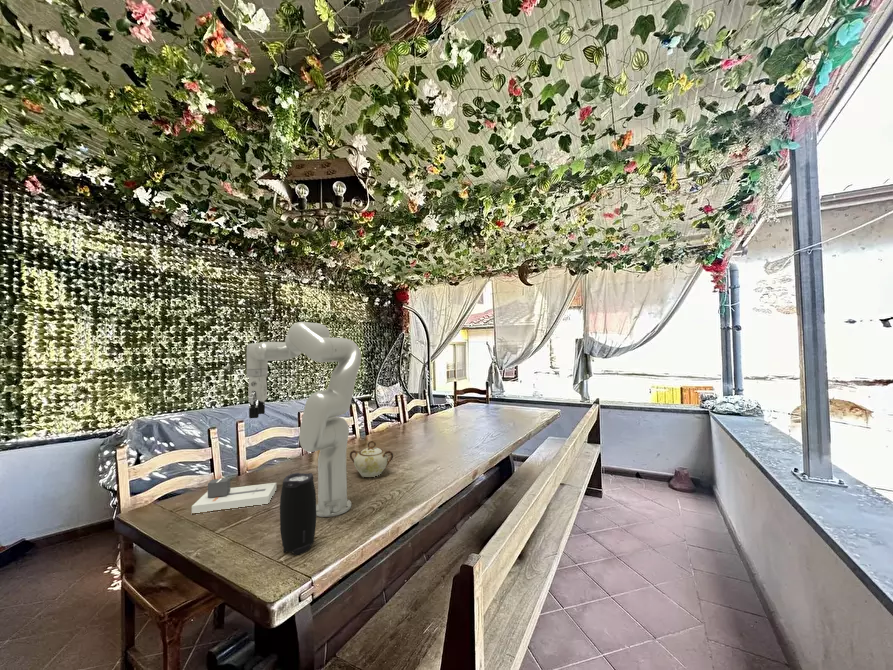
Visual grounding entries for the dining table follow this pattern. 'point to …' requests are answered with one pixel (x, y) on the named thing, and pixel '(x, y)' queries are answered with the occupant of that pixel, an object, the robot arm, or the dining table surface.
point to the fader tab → (218, 487)
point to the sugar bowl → (371, 460)
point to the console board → (236, 498)
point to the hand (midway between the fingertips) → (257, 415)
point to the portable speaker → (298, 512)
